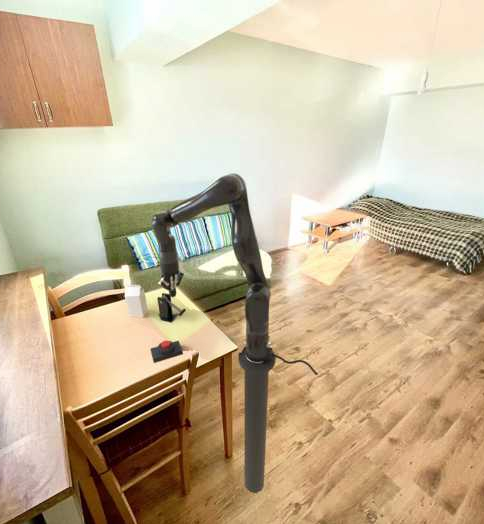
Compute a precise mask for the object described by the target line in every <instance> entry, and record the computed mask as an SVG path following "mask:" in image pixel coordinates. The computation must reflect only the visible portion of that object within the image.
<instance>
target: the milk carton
mask: <svg viewBox="0 0 484 524" xmlns="http://www.w3.org/2000/svg"><path fill="white" fill-rule="evenodd" d="M124 299H125V304H126V308H127V313H128V316H129V317H131V318H145V316H146V315H147V313H148V312H149V309H148V303H147V297H146V294H145V289H144V287H142V286H141V284H125V289H124Z"/></svg>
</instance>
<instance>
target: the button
mask: <svg viewBox="0 0 484 524" xmlns="http://www.w3.org/2000/svg"><path fill="white" fill-rule="evenodd" d="M170 341H171V340H163V341H162V343H161V342H160V343H161V347H162V349H168V348H170Z"/></svg>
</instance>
